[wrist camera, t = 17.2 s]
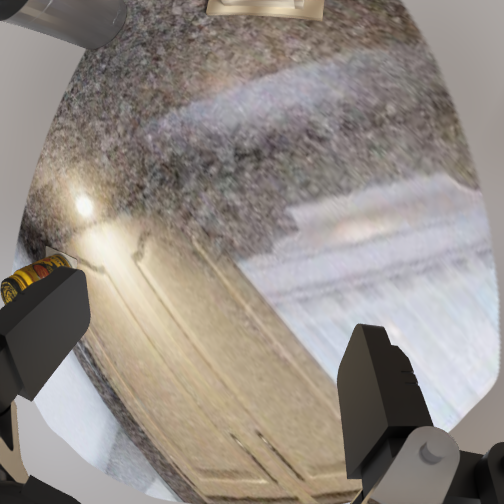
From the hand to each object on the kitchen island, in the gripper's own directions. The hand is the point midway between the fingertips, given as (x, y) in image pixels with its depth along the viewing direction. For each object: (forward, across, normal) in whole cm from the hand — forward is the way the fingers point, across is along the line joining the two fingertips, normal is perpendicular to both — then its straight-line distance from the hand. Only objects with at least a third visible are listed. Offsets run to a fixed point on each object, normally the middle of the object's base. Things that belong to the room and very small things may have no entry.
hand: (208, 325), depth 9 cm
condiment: (+30, +30, +21) cm, 48 cm away
